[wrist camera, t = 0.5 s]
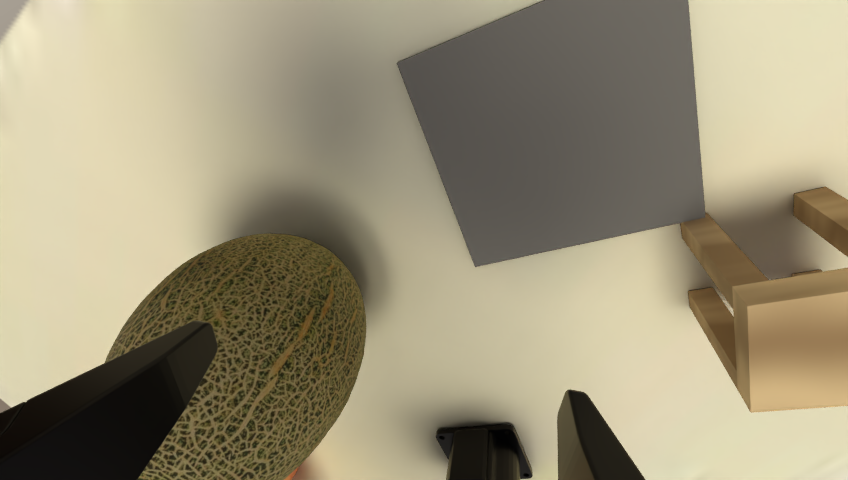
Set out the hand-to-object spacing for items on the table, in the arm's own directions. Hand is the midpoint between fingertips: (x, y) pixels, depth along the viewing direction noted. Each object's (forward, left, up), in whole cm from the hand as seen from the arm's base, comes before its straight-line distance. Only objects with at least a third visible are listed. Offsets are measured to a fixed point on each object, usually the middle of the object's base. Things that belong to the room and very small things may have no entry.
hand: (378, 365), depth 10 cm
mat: (0, -5, -14) cm, 15 cm away
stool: (-9, -13, -14) cm, 21 cm away
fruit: (-4, +12, -14) cm, 19 cm away
